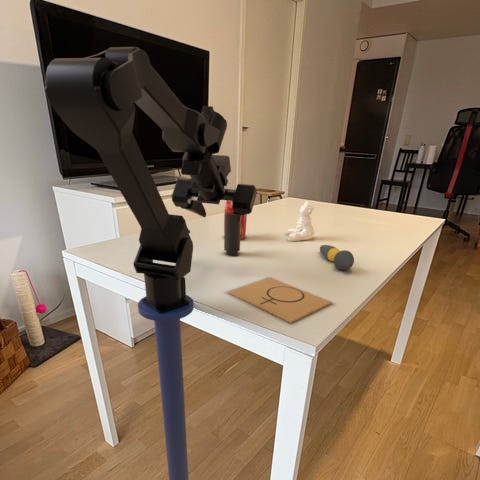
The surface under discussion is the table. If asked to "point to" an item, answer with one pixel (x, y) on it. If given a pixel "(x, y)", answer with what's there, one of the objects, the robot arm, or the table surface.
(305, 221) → the white creature statuette
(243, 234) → the soda can
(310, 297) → the sketch card
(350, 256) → the grey yellow maraca
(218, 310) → the table surface
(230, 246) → the cylinder
